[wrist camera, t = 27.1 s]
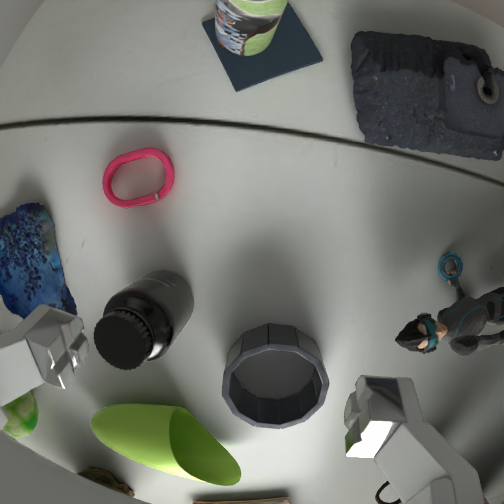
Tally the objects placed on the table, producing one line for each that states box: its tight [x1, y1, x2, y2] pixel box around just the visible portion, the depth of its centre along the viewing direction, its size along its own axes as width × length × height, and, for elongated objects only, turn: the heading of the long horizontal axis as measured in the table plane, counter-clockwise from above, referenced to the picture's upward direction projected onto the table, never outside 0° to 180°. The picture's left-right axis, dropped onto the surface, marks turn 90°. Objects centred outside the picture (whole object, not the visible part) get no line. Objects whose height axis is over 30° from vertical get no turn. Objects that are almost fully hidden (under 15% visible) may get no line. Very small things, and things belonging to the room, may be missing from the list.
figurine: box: [395, 253, 504, 356], centre depth 29 cm, size 11×9×30 cm
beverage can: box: [215, 0, 288, 56], centre depth 23 cm, size 6×7×12 cm
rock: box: [0, 202, 77, 319], centre depth 34 cm, size 15×17×2 cm
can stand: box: [222, 323, 329, 429], centre depth 33 cm, size 11×11×5 cm
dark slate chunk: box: [351, 31, 504, 161], centre depth 27 cm, size 15×22×5 cm
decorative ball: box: [1, 390, 39, 439], centre depth 34 cm, size 10×10×10 cm
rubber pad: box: [202, 2, 323, 92], centre depth 29 cm, size 10×10×1 cm
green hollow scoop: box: [91, 403, 241, 486], centre depth 34 cm, size 8×12×20 cm
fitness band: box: [102, 148, 174, 208], centre depth 32 cm, size 8×6×2 cm
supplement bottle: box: [94, 270, 194, 370], centre depth 28 cm, size 7×7×12 cm
